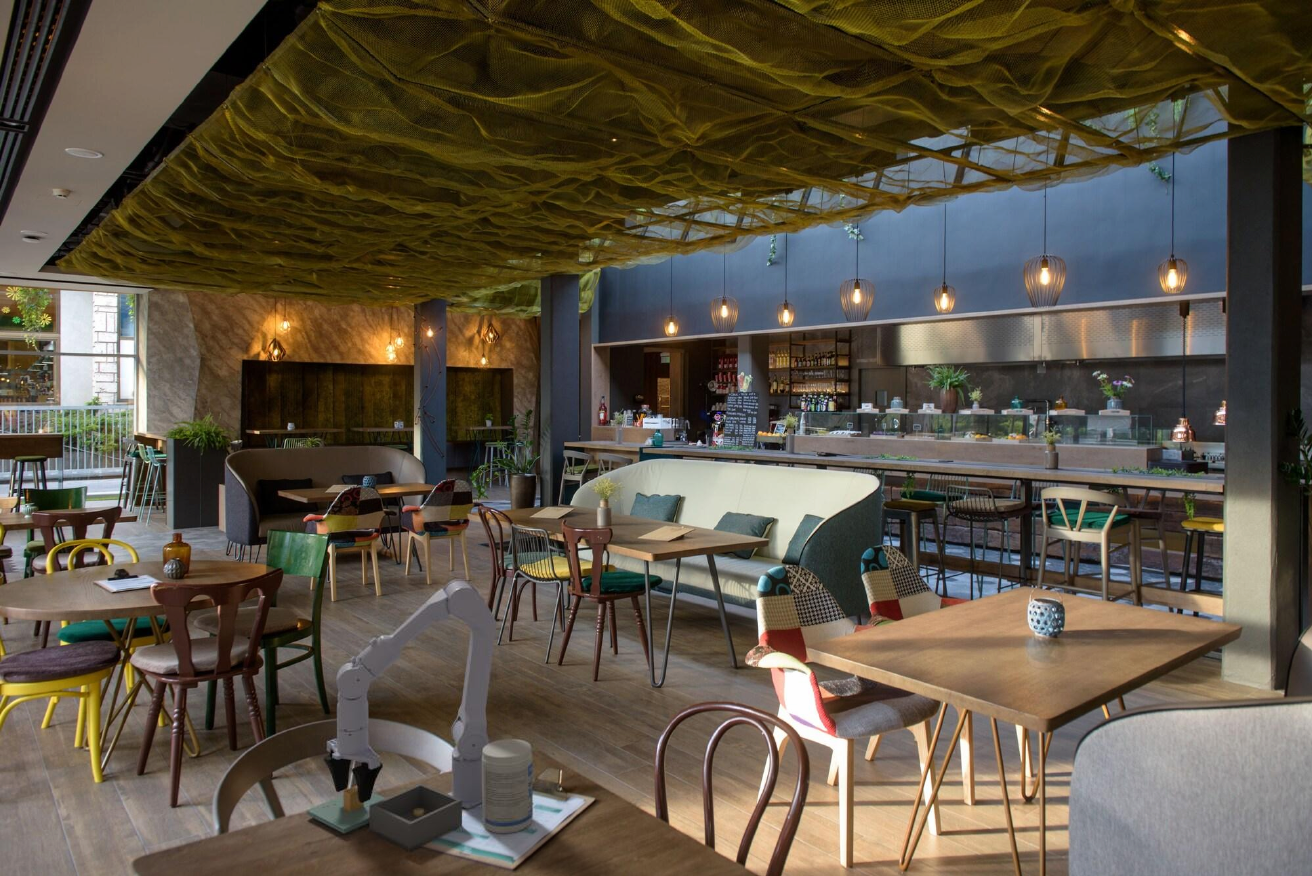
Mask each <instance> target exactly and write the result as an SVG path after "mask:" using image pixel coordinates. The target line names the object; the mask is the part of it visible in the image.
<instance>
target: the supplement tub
mask: <svg viewBox="0 0 1312 876" xmlns="http://www.w3.org/2000/svg"><path fill="white" fill-rule="evenodd" d="M533 784H534V783H533V752H532V746H531V744H530V743H529V742H528V741H526V740H523V739H515V738H511V739H510V738H508V739H498V740H495V741H492V742H489V744H487V745H486V746H485V747H484V748H483V754H482V803H481V806H482V807H481V810H482V811H481V812H482V815H481V816H482V824H483V826H484V828H485V829H487V830H488V831H491V832H492V833H495V834H511V833H517V832H519V831H522V830H524V829H526V828H527V827H528V826H530V825H531V823H532V822H533V814H534V813H533V812H534V810H533V804H534V800H533V799H534V797H533V790H534V789H533V788H534V787H533Z"/></svg>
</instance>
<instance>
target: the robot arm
mask: <svg viewBox="0 0 1312 876" xmlns="http://www.w3.org/2000/svg"><path fill="white" fill-rule="evenodd" d="M450 615H452V616H453V617H454V618H456V619H458V620H460V621H462V622H464V623H465V625H467V626H468V628H469V629H470V636H469V643H468V644H469V645H468V652H467V659H466V667H465V674H464V682H463V690H462V697H461V704H460V706H459V708H458V713H457V717H456V718H455V720H454V722H453V723H452V726H451V729H450V733H451V737H452V739H453V741H454V742H455V745H454V748H453V750H452V752H451V792H448V793H447V794H449V795H451V796H453V797H456V798H458V799H461V800H462V808H465V809H467V810H468V809H471V808H473V807H475V806H478V805H480V804H482V754H483V748H484V747H485V746H486V745H487V744H489V743H490V740H489V736H488V733H487V725H488V723H487V722H488V721H487V712H486V711H487V710H486V708H487V700H488V693H489V686H490V679H491V678H490V677H491V668H492V662H493V654H494V653H493V652H494V646H495V640H496V630H497V621H496V619H495V617H494V615H493V614H492V612H491V609H490V607H489V606H488V604H487V602H486V599H485V597H483V596H482V595H481V594H480V593H479V591H478V590H477V589H476V588H475V587H474V586H473V585H472V584H470V583H469V582H468V581H467V580H464V579H459V578H457V579H453V580H451V581H449V582H448V583H447V584H446V585H445V587H444V589H443V588H441V589H438V591H436V592H435V593H434V594H433V595H432V596H431V597H430V598H429V599H428V600H427V601H426V602H425V603H424V604H423V605H421V606H420V607H419V608H418V609H417V610H416V611H415V612H414V613H413V614H412V615H411V616H410V617H409V618H407V620H406V621H405V622H403V623H402V625H400V626H399V627H398V628H397V629H396V630H394V632H393V633H392V634H382V635H380V636H379V637H378V638H376V637H373V638H372V639H371V640H370V641H369V644H370V645H369V646H367V647H365V648H364V650H363V651H361V652H360V653H359V654H358V655H357V656H355V655H353V656H352V657H351V658H349V659H350V662H347V663H345V664H343V665H342V666H341V667H340V668H339V669H338V671H337V674H336V677H335V681H336V687H337V688H336V689H337V690H338V694H337V705H336V731H337V732H336V735H337V736H336V738H333V739H331V740H327V741H326V751H327V752H328V753H329V754H327V755H325V756H324V757H323V761H324V763H325V764H326V766H327V768H328V770H329V772H330V774H331V777H332V781H333V785H334V788H335V791H336V792H337V793H340V792H342V791H344V790H347V789H348V786H349V777H350V769H351V773H352V774H353V776H354V779H355V781H356V786H357V789H358V798H359V802H360V803H363V802H366V801H368V800H370V799H371V795H372V792H373V791H374V787H375V784H376V781H377V778H378V776H379V774H380V772H381V771H382V769H383V765H384V764H383V762H382V761H381V756H380V755H378V754H377V753H376V752H375V751H374V750H373V749H372V747H371V746H370V745H369V701H368V695H367V694H368V691H369V689H370V685H371V682H372V681H375V680H376V679H377V678H379V677H380V676H381V675H383V673H384V672H386V670H388V669H389V668H390V667H392V665H393V664H395V663H396V662H397V661H398V660H399V659H400V658H401V657H402V650H403V647H405V646H406V645H408V643H409V642H411V641H412V640H414V639H415V637H417V636H419V635H420V634H421V633H422V632H424V631H425V630H426V629H427V628H428V627H429V626H431V625H432V624H433V623H434V622H442V621H443V622H445V621H451V620H452V619H451V617H450ZM352 761H356V762H358V763H360V765H359V766H356V767H354V768H351V764H352Z"/></svg>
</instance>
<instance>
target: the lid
mask: <svg viewBox="0 0 1312 876" xmlns="http://www.w3.org/2000/svg"><path fill="white" fill-rule="evenodd" d="M342 791H343V795H340V796H338V797H336V798H333V799H330V800H327V801H326V802H323V803H321V804H318V805H316V806H313V807H310V808H308V809H306V815H307V816H310V817H312V818H313V819H316V820H317V821H319V822H321V823H322V824H325V825H327V826H329V827H330V828H333V829H334V830H336V831H338V832H340V833H342V834H348V833H349V832H352V831H353V830H356V829H358V828H361V827H363V826H364V825H367V824H369V806H370V805H372V804H374V803H377V802H379V801H381V800H384V799H386V798H387V797H384V796H381V795H379V794H377V793H375V792H373V791H372V795H371V799H370V800H368V801H366V802H363V803H360V802H359V798H358V789H357V785H355V786H352V787H349V788H347V789H345V790H342ZM374 793H375V794H374ZM343 801H344V802H343ZM333 804H336V805H333ZM326 806H329V807H326ZM322 807H325V808H322ZM314 809H315V810H314ZM307 812H308V813H307Z"/></svg>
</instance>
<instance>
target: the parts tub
mask: <svg viewBox="0 0 1312 876" xmlns="http://www.w3.org/2000/svg"><path fill="white" fill-rule="evenodd" d="M385 798H386V799H384V800H381V801H379V802H377V803H374V804H372V805H370V806H369V823H368V824H369V826H368V827H369V833H371V834H373V835H375V836H377V837H380V838H381V839H383V840H385V841H387V842H389V843H390V844H391V843H392V844H394V846H395V845H396V847H400V848H401V849H403V850H405V851H408V852H410V853H411V852H413V851H415V850H417V849H419V848H421V847H423V846H425V845H427V844H429V843H431V842H433V841H435V840H437V839H439V838H441V837H444V836H445V835H447V834H449V833H451V832H453V831H455V830H457V829H460V828H461V827H463V807H462V800H461V799H458V798H456V797H453V796H451V795H449V794H448V793H446V792H443V791H441V790H438V789H436V788H433V787H431V786H429V785H426V784H424V783H419V784H417V785H415V786H411V787H410V788H406V789H405V790H403V791H400V792H397V793H395V794H394V795H391V796H388V797H385Z"/></svg>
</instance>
